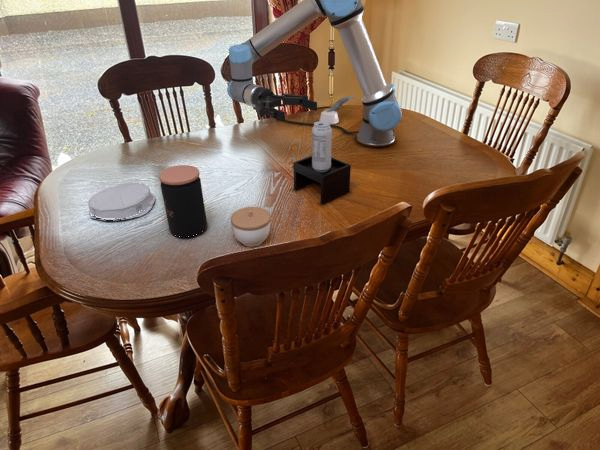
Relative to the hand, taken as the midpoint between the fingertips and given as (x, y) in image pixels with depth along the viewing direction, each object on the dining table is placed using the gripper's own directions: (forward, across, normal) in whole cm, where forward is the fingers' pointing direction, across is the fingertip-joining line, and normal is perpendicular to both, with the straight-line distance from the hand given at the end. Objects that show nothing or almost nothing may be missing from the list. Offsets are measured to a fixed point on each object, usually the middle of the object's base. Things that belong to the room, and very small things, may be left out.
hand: (300, 111), depth 142 cm
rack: (+10, 0, -25) cm, 26 cm away
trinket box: (+18, +34, -25) cm, 46 cm away
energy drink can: (+10, 0, -17) cm, 19 cm away
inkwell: (-36, -54, -25) cm, 69 cm away
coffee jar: (0, +44, -24) cm, 51 cm away
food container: (-25, +53, -24) cm, 64 cm away
